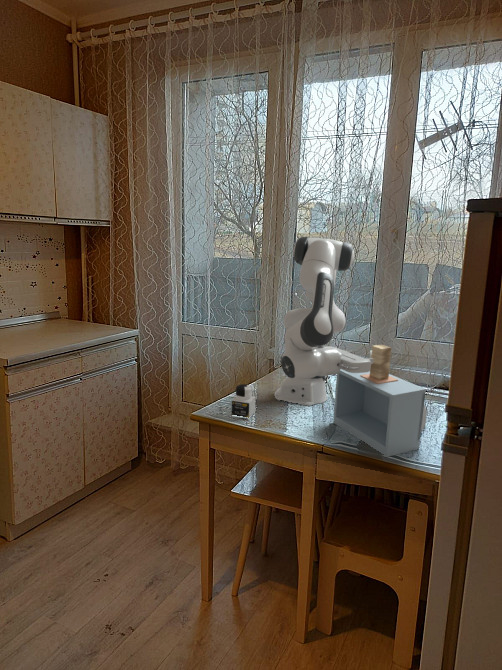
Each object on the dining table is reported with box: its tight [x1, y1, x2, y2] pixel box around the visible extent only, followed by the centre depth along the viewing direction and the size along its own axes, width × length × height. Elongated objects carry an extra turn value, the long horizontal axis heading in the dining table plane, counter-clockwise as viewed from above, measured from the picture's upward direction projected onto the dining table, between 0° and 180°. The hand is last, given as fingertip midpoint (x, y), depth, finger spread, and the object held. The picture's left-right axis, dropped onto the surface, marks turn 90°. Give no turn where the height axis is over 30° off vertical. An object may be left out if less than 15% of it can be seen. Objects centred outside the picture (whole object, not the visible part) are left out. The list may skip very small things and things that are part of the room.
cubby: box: [333, 369, 427, 458], centre depth 167 cm, size 14×29×22 cm, turn 27°
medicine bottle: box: [231, 383, 256, 418], centre depth 183 cm, size 7×7×12 cm
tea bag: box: [421, 404, 428, 432], centre depth 175 cm, size 4×7×10 cm, turn 147°
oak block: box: [370, 344, 392, 380], centre depth 163 cm, size 4×4×11 cm
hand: (362, 356), depth 159 cm, fingers open, 8 cm apart
